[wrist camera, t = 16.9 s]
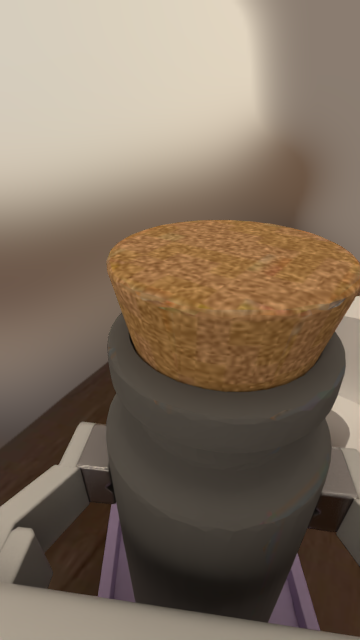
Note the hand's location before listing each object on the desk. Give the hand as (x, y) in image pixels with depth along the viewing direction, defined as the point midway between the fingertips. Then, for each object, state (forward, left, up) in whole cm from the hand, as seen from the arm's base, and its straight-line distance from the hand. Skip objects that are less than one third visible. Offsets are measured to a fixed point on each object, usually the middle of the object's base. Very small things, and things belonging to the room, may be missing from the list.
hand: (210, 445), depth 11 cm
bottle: (-1, 0, -8) cm, 8 cm away
